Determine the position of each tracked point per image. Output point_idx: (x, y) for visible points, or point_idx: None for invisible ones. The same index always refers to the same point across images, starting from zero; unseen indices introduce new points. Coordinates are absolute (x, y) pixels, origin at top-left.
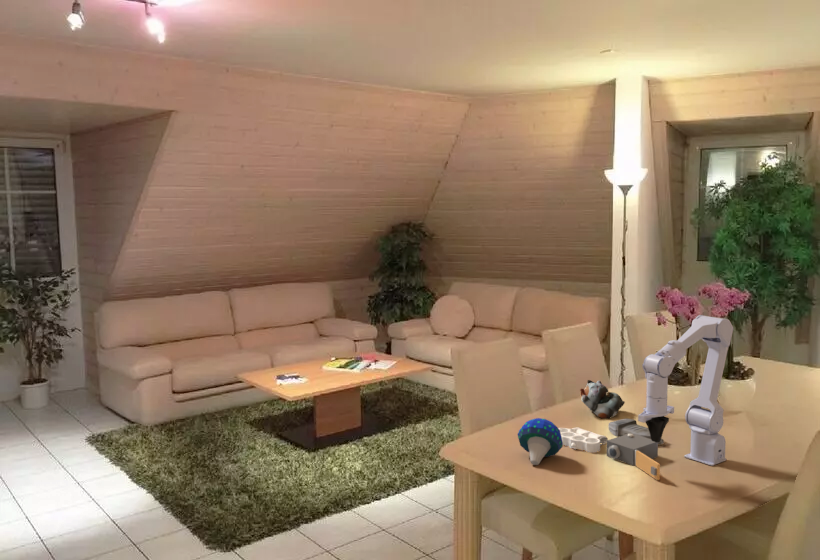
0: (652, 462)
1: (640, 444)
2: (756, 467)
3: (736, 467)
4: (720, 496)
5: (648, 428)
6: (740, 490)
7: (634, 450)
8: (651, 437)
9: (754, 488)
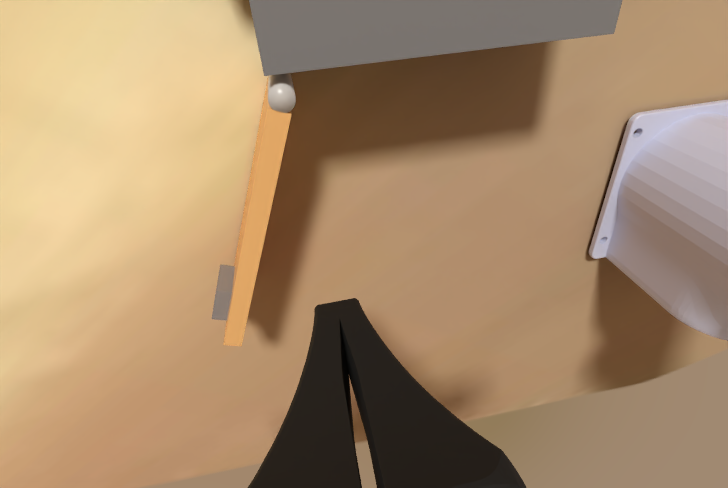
0: (231, 300)
1: (429, 2)
2: None
3: (633, 293)
4: None
5: (291, 404)
6: None
7: (278, 72)
8: (314, 331)
9: (485, 410)
